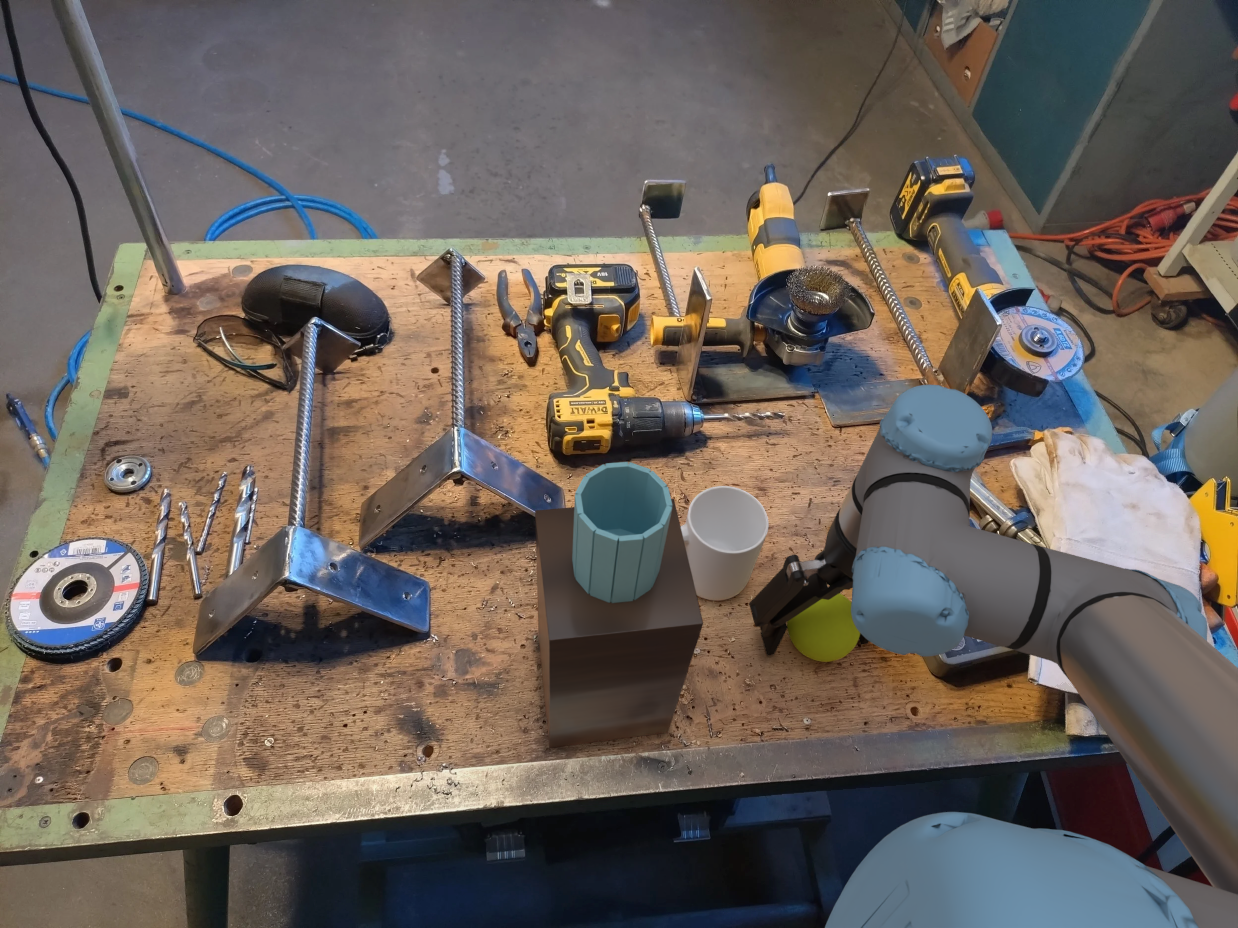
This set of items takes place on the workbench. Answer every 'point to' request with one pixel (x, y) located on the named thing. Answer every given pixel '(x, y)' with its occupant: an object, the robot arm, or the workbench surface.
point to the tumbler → (620, 530)
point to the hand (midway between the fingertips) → (813, 638)
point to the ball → (825, 630)
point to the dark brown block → (611, 642)
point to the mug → (723, 540)
